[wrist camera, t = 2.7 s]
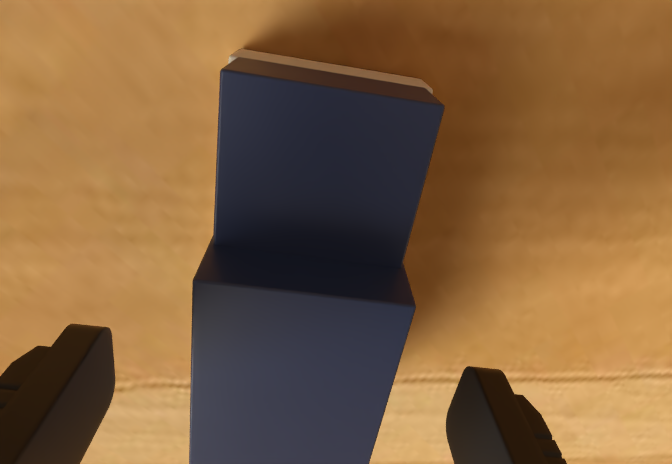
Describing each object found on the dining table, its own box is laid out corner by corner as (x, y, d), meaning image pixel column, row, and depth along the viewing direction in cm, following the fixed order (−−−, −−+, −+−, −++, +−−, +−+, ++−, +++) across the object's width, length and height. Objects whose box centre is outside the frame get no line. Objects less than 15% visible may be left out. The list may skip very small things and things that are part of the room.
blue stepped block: (238, 47, 12) (189, 80, 8) (422, 78, 12) (478, 125, 8) (219, 378, 17) (184, 509, 13) (347, 391, 18) (355, 522, 13)
